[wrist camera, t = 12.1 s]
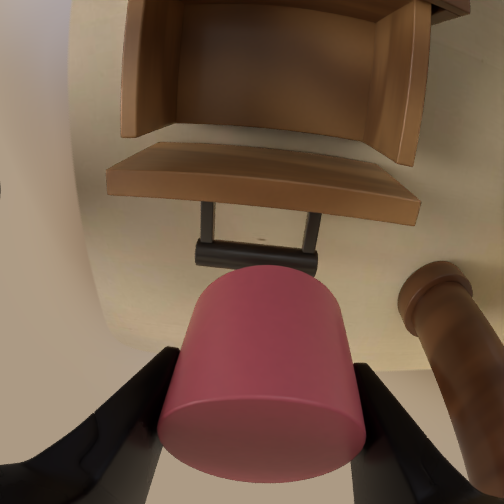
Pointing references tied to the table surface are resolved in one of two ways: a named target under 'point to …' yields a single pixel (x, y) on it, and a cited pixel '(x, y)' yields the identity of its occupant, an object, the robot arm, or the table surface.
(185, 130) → the table surface
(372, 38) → the drawer
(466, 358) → the pepper mill
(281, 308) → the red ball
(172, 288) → the table surface
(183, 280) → the table surface
